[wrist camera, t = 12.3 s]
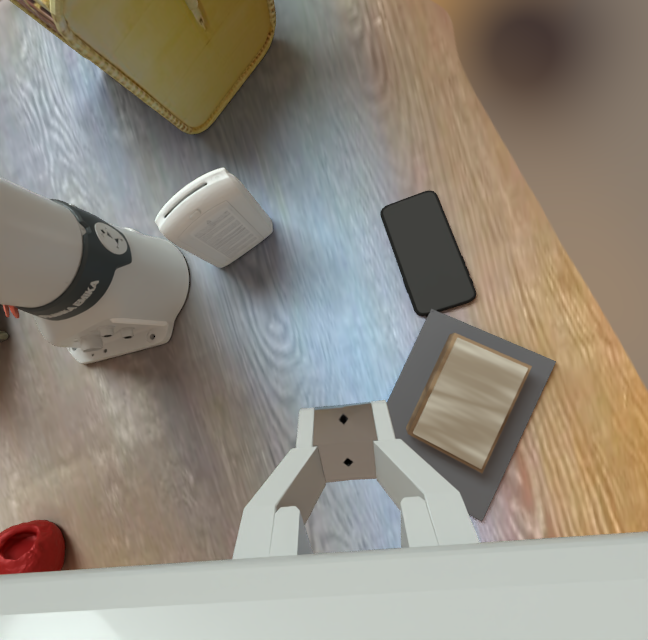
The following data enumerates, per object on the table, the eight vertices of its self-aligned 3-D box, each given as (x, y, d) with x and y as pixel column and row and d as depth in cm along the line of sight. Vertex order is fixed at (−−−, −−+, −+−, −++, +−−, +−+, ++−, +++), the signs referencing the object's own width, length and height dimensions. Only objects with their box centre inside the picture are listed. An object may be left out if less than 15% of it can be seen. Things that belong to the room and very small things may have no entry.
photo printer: (264, 207, 41) (215, 148, 29) (279, 231, 41) (236, 180, 28) (206, 250, 42) (136, 210, 30) (220, 274, 42) (154, 242, 30)
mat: (480, 518, 32) (481, 521, 32) (363, 452, 35) (363, 454, 35) (552, 361, 33) (555, 361, 32) (430, 309, 36) (431, 308, 35)
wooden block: (483, 475, 30) (534, 366, 30) (408, 434, 31) (455, 332, 31) (474, 463, 32) (520, 365, 33) (405, 427, 34) (449, 334, 34)
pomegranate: (81, 580, 41) (-3, 647, 32) (23, 588, 43) (-73, 654, 33) (72, 505, 42) (-11, 550, 33) (16, 516, 44) (-78, 561, 35)
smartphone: (435, 186, 37) (480, 298, 34) (433, 190, 38) (477, 300, 35) (377, 207, 38) (417, 318, 35) (377, 211, 39) (416, 319, 36)
